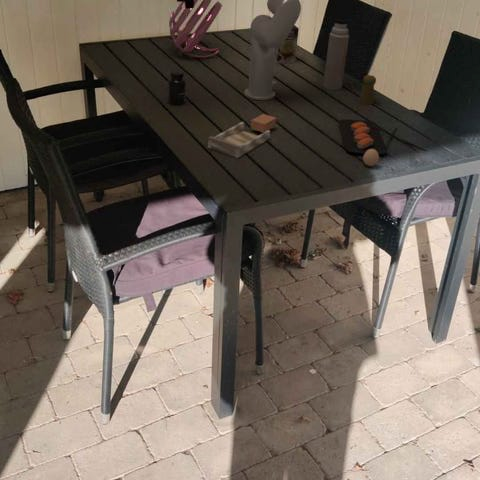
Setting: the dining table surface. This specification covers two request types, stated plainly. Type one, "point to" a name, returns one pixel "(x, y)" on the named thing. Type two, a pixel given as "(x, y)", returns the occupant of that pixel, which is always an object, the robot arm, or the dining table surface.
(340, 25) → the thermos bottle
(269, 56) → the robot arm
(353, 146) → the sushi plate
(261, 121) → the brown rectangular block
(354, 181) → the dining table surface
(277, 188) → the dining table surface
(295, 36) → the coffee box
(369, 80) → the pepper mill
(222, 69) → the dining table surface
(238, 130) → the dock
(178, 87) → the supplement bottle
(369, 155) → the egg
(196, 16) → the spiral basket
